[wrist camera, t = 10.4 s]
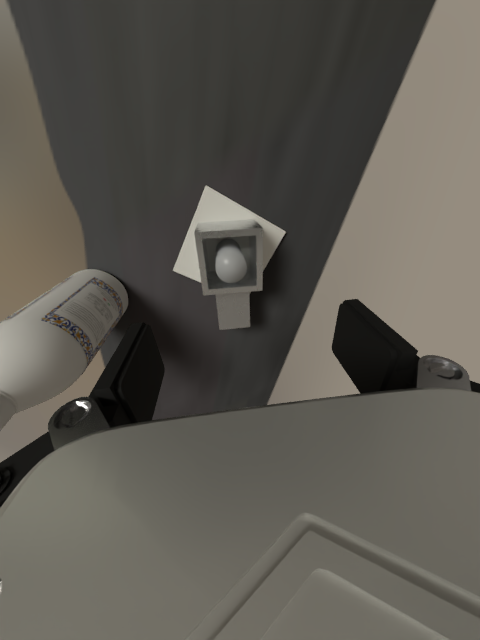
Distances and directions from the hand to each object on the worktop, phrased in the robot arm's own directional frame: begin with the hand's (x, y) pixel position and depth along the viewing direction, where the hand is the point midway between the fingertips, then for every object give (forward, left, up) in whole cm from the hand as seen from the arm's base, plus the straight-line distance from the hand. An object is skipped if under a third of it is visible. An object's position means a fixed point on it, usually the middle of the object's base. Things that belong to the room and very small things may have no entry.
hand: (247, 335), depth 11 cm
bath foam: (+13, -12, -19) cm, 25 cm away
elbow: (+3, +1, -18) cm, 18 cm away
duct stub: (+1, 0, -18) cm, 18 cm away
